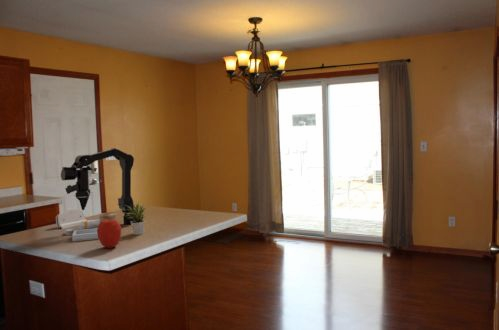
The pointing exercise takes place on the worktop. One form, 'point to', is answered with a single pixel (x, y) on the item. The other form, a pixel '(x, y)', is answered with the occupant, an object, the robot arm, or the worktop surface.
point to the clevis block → (102, 217)
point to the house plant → (137, 219)
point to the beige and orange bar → (90, 224)
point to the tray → (85, 234)
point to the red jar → (109, 233)
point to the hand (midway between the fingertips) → (83, 208)
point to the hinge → (69, 219)
